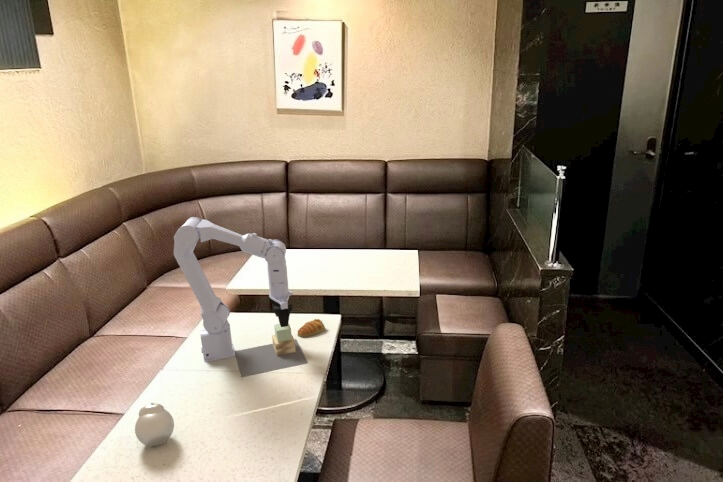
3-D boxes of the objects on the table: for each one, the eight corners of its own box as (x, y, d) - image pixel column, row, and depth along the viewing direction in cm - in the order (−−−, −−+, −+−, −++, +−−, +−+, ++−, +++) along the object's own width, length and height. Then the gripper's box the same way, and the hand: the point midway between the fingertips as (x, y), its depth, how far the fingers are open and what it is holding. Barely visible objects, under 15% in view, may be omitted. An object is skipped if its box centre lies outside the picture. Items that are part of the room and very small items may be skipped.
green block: (277, 342, 167) (276, 330, 166) (275, 336, 171) (274, 324, 170) (291, 339, 168) (290, 328, 167) (289, 333, 172) (288, 322, 171)
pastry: (305, 341, 177) (304, 331, 175) (293, 335, 181) (292, 325, 180) (327, 331, 183) (326, 321, 182) (314, 325, 187) (313, 315, 186)
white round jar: (179, 426, 137) (174, 392, 134) (172, 451, 128) (166, 416, 125) (142, 430, 136) (136, 396, 132) (133, 456, 127) (125, 420, 124)
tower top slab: (276, 349, 167) (275, 344, 166) (272, 341, 172) (272, 335, 172) (295, 346, 169) (294, 340, 168) (291, 337, 174) (290, 332, 173)
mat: (241, 378, 157) (241, 377, 157) (234, 352, 171) (234, 351, 171) (308, 364, 163) (308, 363, 163) (296, 340, 177) (296, 339, 177)
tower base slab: (276, 355, 167) (276, 349, 167) (273, 346, 173) (272, 341, 172) (295, 351, 169) (295, 346, 169) (291, 343, 175) (291, 337, 174)
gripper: (296, 287, 158) (299, 328, 163) (286, 270, 171) (289, 309, 176) (272, 291, 156) (276, 332, 160) (264, 273, 169) (267, 313, 173)
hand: (281, 320), depth 168 cm, fingers open, 7 cm apart
